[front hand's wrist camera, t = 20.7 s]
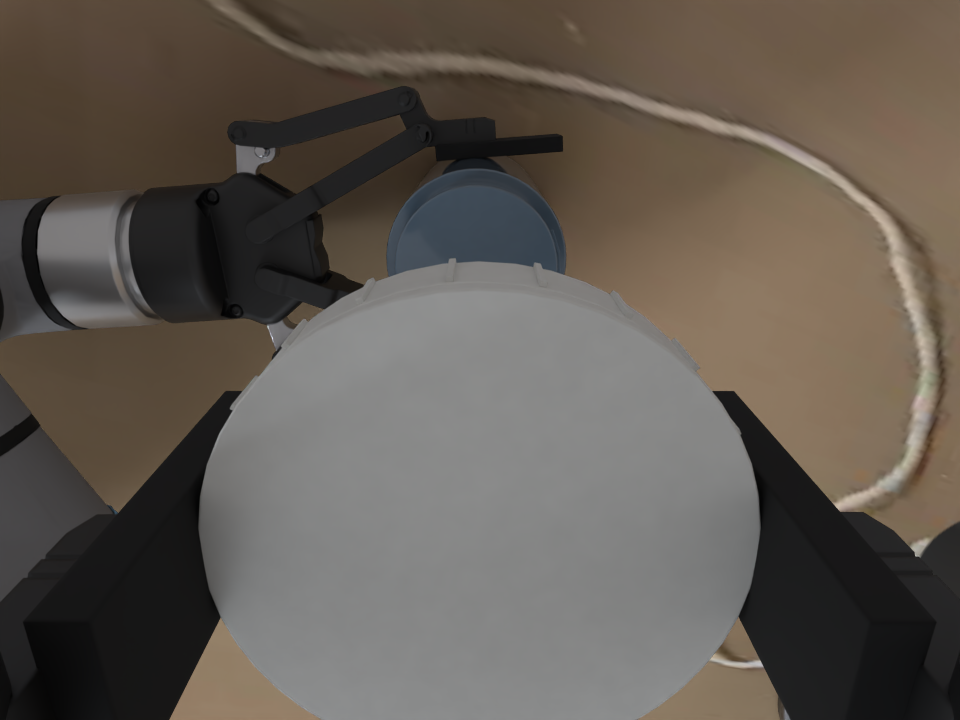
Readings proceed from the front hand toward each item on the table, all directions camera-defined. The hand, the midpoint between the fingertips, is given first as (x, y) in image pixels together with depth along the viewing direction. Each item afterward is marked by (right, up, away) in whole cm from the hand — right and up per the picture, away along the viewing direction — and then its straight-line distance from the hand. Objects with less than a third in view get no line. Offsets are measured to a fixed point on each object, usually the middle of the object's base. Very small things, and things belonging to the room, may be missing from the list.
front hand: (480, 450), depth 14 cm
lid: (0, -1, -3) cm, 3 cm away
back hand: (+4, +9, +23) cm, 25 cm away
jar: (0, +11, +29) cm, 31 cm away
